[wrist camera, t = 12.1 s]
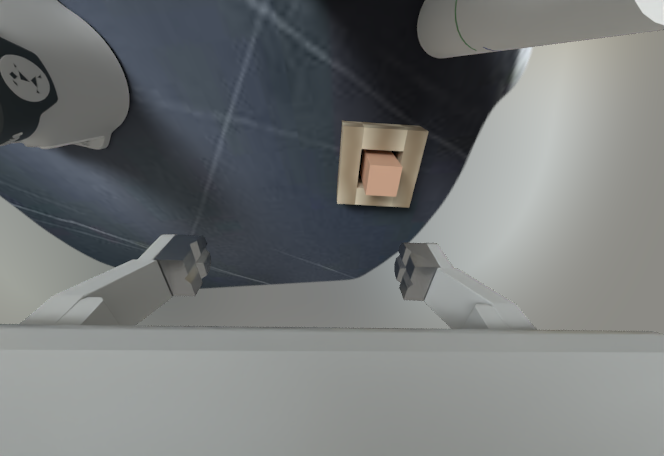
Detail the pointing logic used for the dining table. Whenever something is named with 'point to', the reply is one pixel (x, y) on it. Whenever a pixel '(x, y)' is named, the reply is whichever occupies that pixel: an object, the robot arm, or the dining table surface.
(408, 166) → the socket block
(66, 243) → the dining table surface
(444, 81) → the dining table surface
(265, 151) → the dining table surface
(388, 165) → the peg
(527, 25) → the cylindrical container
